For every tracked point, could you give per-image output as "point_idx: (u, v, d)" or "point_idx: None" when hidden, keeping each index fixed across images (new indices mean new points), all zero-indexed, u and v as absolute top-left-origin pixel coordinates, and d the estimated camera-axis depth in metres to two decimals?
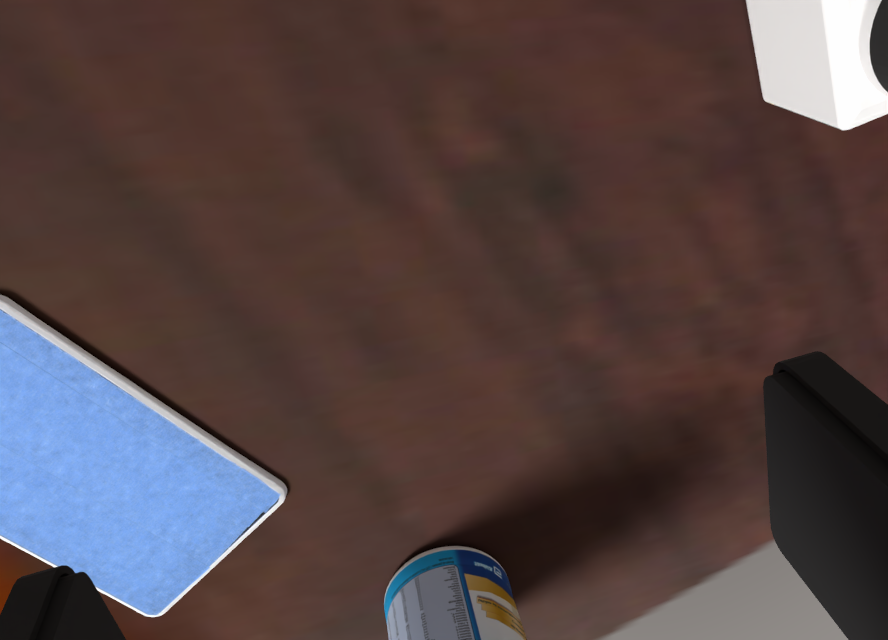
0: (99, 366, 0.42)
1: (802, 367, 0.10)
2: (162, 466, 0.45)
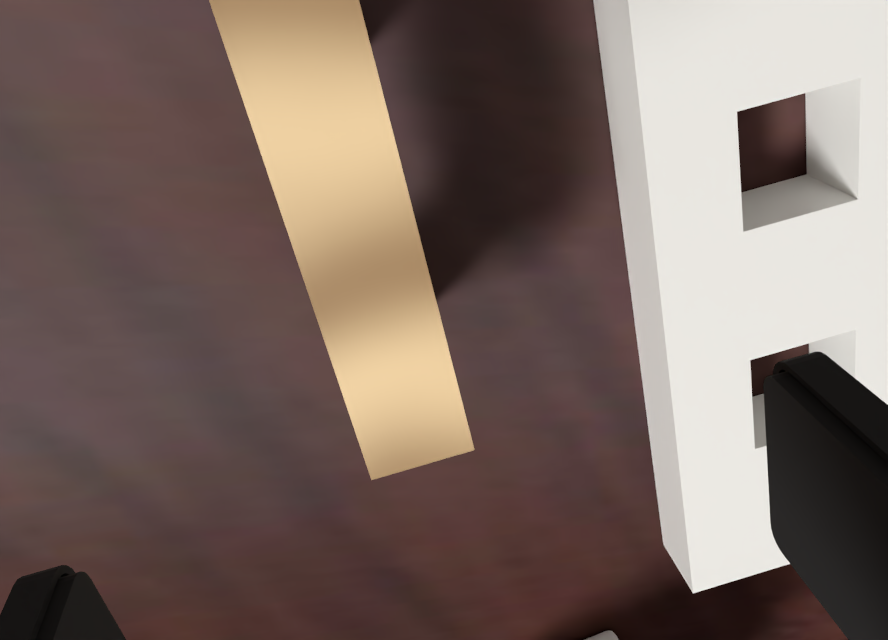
0: None
1: (802, 367, 0.10)
2: None
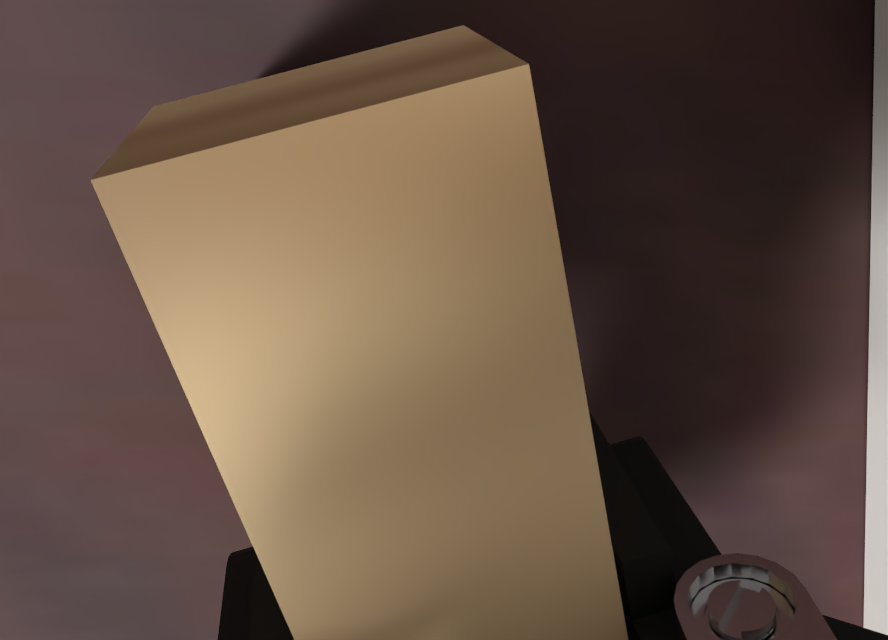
0: None
1: None
2: None
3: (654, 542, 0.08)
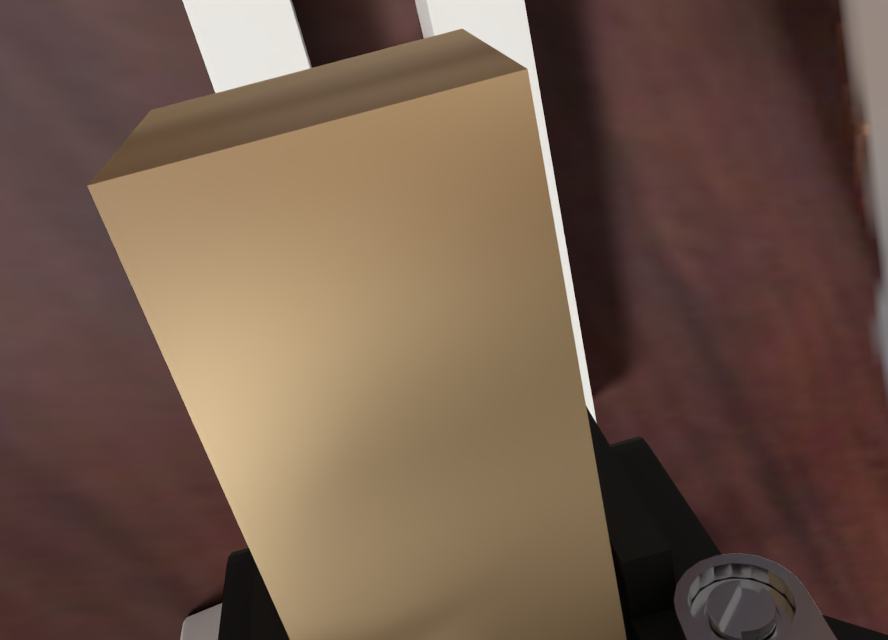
0: None
1: None
2: None
3: (654, 542, 0.08)
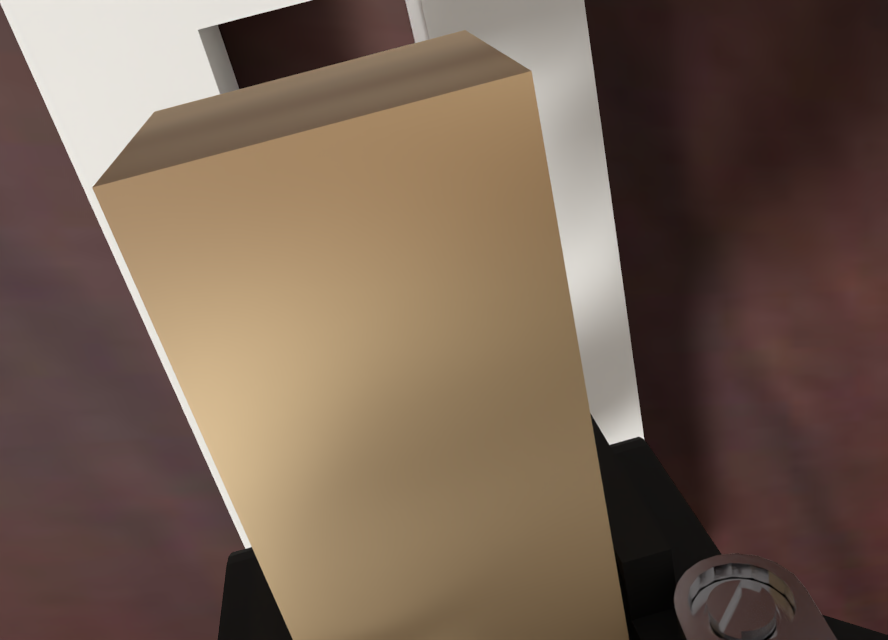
0: None
1: None
2: None
3: (654, 542, 0.08)
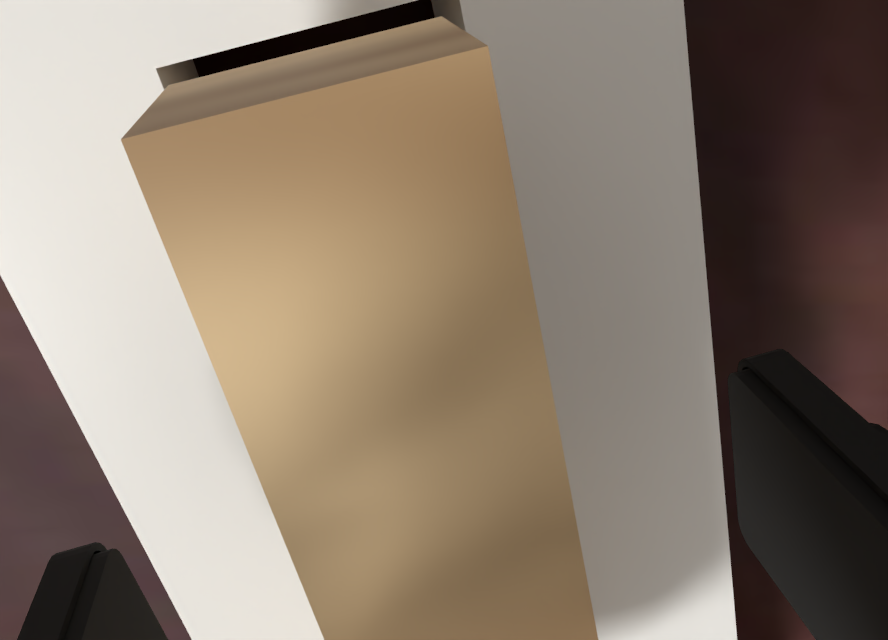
0: None
1: (764, 364, 0.10)
2: None
3: None
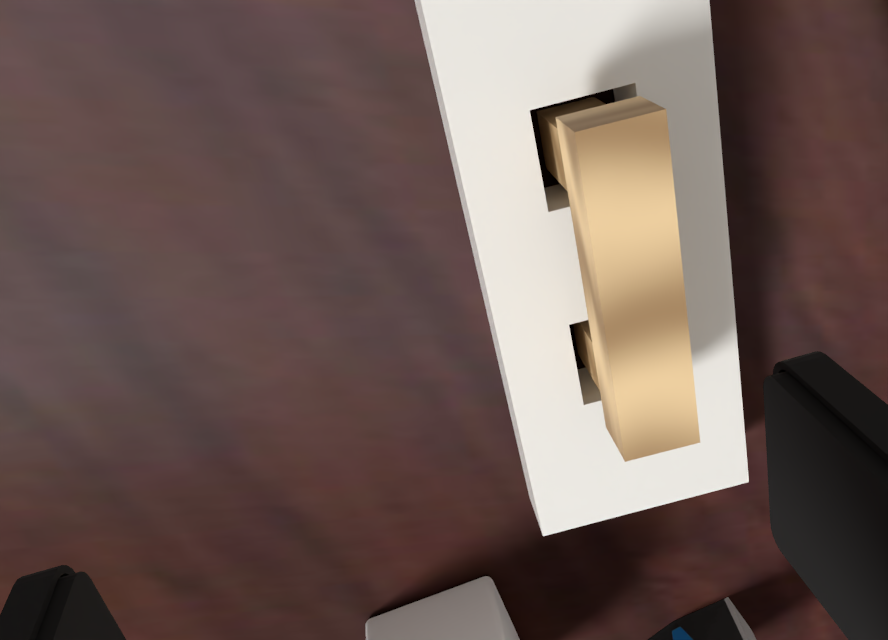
0: None
1: (802, 367, 0.10)
2: None
3: None
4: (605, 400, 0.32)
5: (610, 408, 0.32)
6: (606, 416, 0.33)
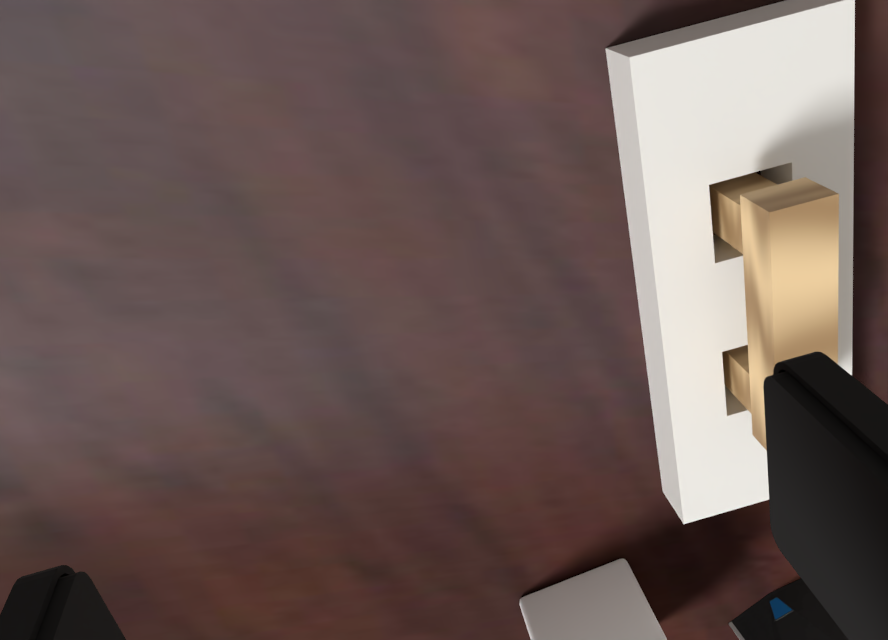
0: None
1: (802, 367, 0.10)
2: None
3: None
4: (758, 414, 0.40)
5: None
6: (756, 426, 0.40)
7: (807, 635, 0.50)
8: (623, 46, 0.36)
